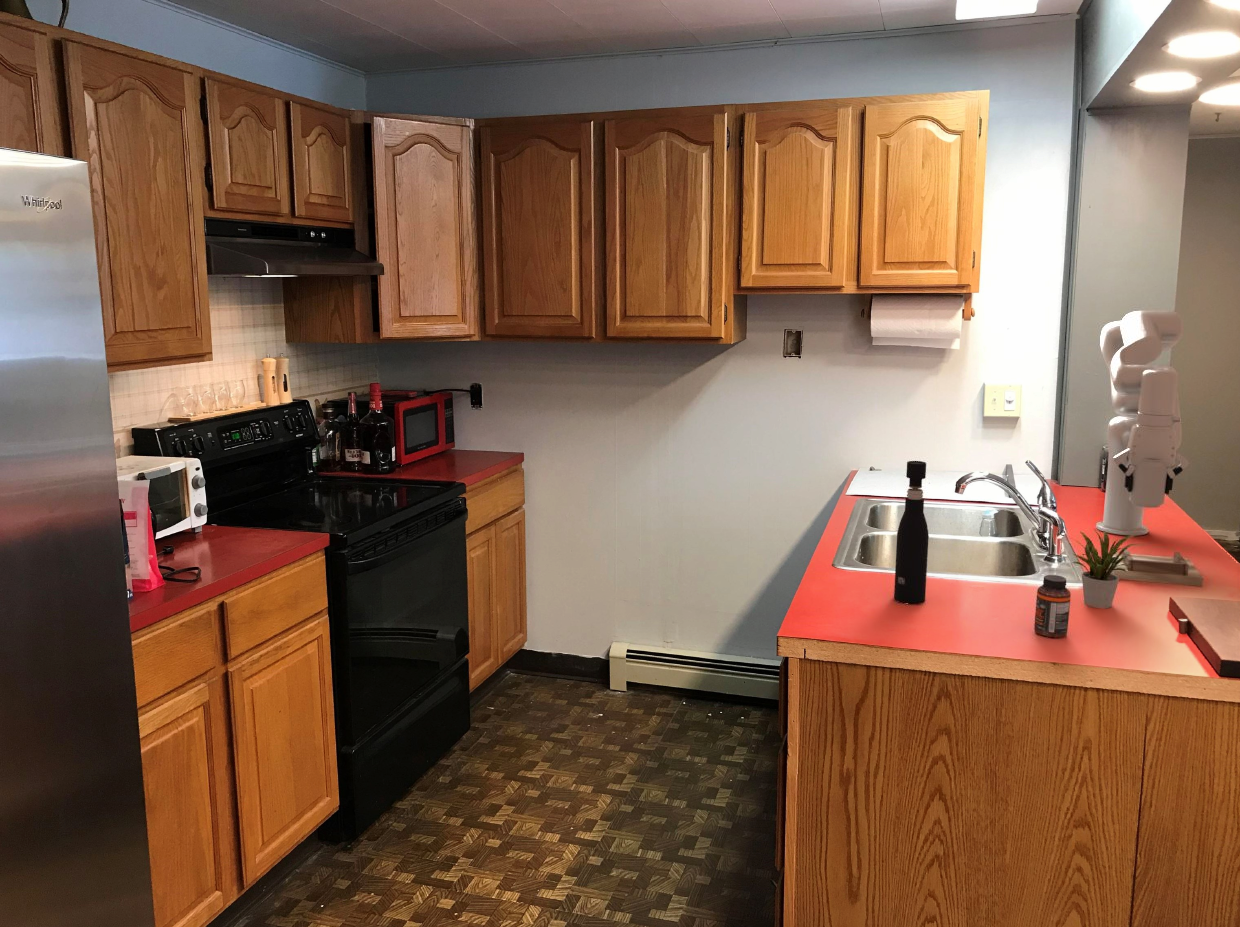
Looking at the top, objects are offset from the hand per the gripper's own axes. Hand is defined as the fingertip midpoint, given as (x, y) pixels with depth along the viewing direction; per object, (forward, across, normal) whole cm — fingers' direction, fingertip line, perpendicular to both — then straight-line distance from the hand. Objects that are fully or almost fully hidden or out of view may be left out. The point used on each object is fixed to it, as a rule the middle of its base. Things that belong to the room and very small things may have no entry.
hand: (1147, 491), depth 237 cm
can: (+4, 0, 0) cm, 4 cm away
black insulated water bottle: (+15, +52, +54) cm, 76 cm away
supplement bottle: (+15, +25, +66) cm, 72 cm away
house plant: (+16, +13, +44) cm, 48 cm away
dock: (+16, 0, +15) cm, 22 cm away
